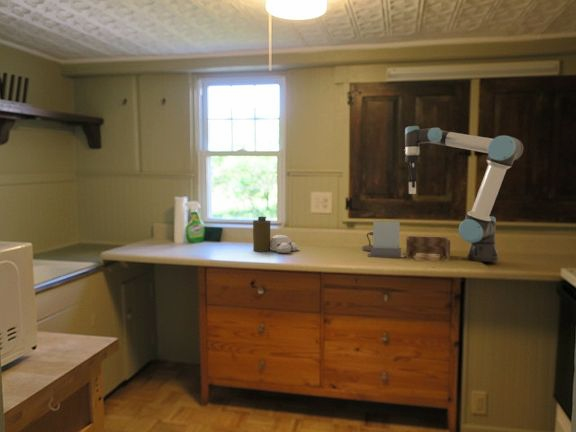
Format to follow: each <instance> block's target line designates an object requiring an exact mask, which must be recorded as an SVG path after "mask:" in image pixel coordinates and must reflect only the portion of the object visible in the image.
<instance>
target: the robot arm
mask: <svg viewBox="0 0 576 432" xmlns="http://www.w3.org/2000/svg"><path fill="white" fill-rule="evenodd" d="M404 140H405V141H404V144H405V145H404V147H405V149H403V152H404V151H405V152H404V153H405V154H404V155H405V156H404V162H405V163H409V164H408V166H407V168H408V194H409V195H416V194H417V182H416V181H417V163H419V162H420V144H428V143H429V144H435V145H439V146H446V147H451V148H458V149H463V150H468V151H469V150H470V151H475V152H478V153H479V152H480V153H486V154H488V155H487V158H486V163H487V167H486V170H485V173H484V175H483V179H482V181H481V184H480V186H479V189H478V192H477V195H476V197H475V200H474V202H473V206H472V208H471V210H469V211H468V212H466V215H465V217H464V220H462V221H461V223H459V227H458V233H459V235H460V238H461V239H462V240H463V241H465V242H466V243H471V244H470V246H469V249H468V252H467V256H466V258H467V260H471V261H474V262H475V261H476V262H497V261H499V253H498V250H497V248H496V228H497V227H496V226H497V221H496V220H497V218H496V217H495V216H493V215H492V216H491V212H492V210H493V207H494V204H495V201H496V199H497V197H498V195H499V194H498V193H499V192H500V188H501V186H502V183H503V180H504V177H505V175H506V172H507V171H508V169H510V168H512V166H513V164H514V161H516V160H518V159H519V158H520V157H521V156H522V154H523V152H524V145H523V143H522V141H521V140H520V139H518V138H516V137H513V136H509V135H498V136H496V137H494V138H490V137H486V136H485V137H484V136H480V135H479V136H477V135H470V134H464V133H459V132H453V131H446V130H442V129H441V128H440V127H431V128H422V129H420V126H418V125H412V126H410V125H409V126H407V127H405V130H404Z"/></svg>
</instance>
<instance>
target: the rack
mask: <svg viewBox="0 0 576 432" xmlns="http://www.w3.org/2000/svg"><path fill="white" fill-rule="evenodd" d="M405 238H406V239H405V256H406V259H409V255H412V257H413V259H414V255H416V253H426V254H440V259H442V260H443V259H444V257H443V256H445V258H446V259H447V260H448V261H449V260H450V259H451V240H450V239H449V238H448V237H445V236H444V237H443V236H413V235H411V236H410V235H409V236H408V235H406V237H405Z"/></svg>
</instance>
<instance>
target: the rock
mask: <svg viewBox="0 0 576 432" xmlns="http://www.w3.org/2000/svg"><path fill="white" fill-rule="evenodd" d="M298 247H299V246H298V245H297V244H296V243H295V242H293V240H292V238H290V237H289V236H288V235H284V234H276V235H274V236H272V237H271V238H270V249H271V250H270V251H273V252H276V253H284V254H285V253H291V252H295V251H296V250H297V249H298Z"/></svg>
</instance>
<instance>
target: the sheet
mask: <svg viewBox="0 0 576 432" xmlns="http://www.w3.org/2000/svg"><path fill="white" fill-rule="evenodd" d="M400 223H401V222H395V221H393V222H392V221H391V222H390V221H387V222H386V221H385V222H384V221H373V223H372V224H373V225H372V232H373V235H372V237H373V238H372V245H373V248H388V249H399V248H400V228H401V227H400Z"/></svg>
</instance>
